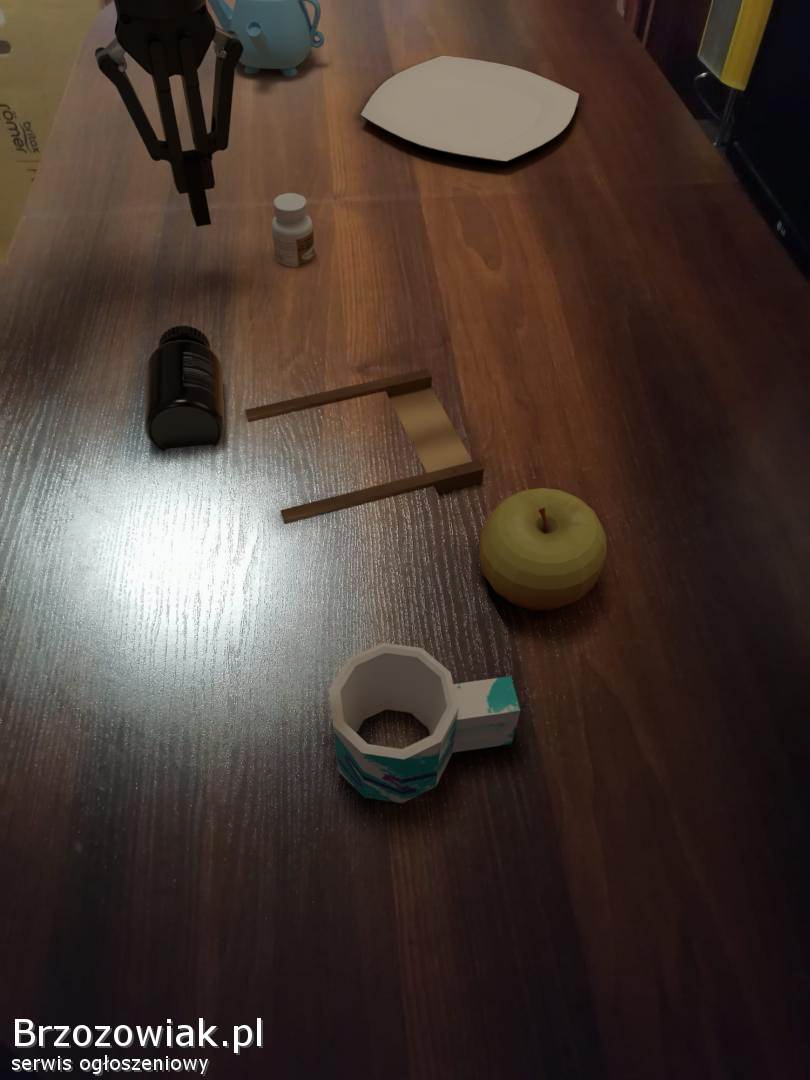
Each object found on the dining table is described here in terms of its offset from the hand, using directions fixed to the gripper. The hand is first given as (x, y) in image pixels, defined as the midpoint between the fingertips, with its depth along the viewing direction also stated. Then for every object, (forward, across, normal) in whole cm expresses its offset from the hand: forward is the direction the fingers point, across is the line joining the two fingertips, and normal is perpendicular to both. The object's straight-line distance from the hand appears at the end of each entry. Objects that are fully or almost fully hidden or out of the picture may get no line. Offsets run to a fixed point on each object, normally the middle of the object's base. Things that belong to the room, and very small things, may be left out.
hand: (201, 218), depth 88 cm
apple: (+8, +16, -48) cm, 51 cm away
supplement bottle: (+4, -7, -26) cm, 27 cm away
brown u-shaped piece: (+8, +7, -30) cm, 32 cm away
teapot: (+8, +19, +51) cm, 55 cm away
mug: (+8, +2, -59) cm, 59 cm away
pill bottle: (+8, +9, 0) cm, 12 cm away
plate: (+8, +41, +26) cm, 50 cm away
